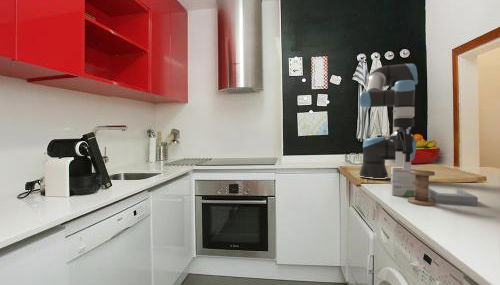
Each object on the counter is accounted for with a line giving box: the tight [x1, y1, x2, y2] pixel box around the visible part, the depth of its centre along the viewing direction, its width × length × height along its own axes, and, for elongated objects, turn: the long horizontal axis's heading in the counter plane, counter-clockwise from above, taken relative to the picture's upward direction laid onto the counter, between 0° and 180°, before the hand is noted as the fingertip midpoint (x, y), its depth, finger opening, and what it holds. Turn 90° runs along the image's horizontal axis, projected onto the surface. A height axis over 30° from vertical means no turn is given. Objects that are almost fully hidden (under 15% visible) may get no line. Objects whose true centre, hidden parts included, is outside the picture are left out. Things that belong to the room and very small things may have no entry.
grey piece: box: [428, 187, 479, 206], centre depth 110 cm, size 14×13×3 cm
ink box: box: [390, 166, 416, 197], centre depth 118 cm, size 9×5×12 cm, turn 71°
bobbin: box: [407, 169, 437, 207], centre depth 106 cm, size 9×9×12 cm
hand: (402, 168), depth 118 cm, fingers open, 13 cm apart
